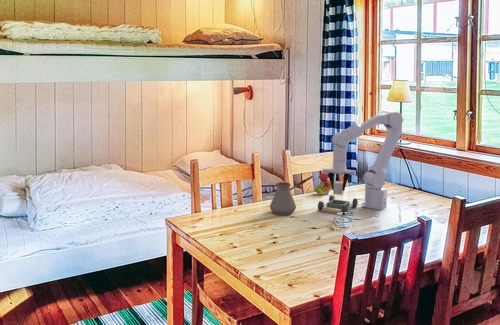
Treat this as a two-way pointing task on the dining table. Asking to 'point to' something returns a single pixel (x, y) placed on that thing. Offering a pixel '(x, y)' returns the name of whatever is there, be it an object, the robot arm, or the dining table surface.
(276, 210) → the coffee pot
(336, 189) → the block
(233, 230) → the dining table surface
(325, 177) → the bird rattle
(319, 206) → the chassis
